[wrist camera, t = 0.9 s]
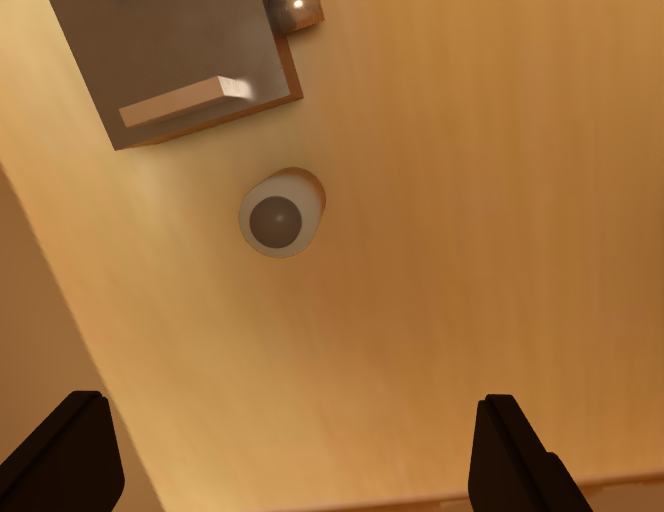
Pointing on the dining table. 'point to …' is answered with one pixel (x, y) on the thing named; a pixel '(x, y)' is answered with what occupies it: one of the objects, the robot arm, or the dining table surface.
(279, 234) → the toy camera lens
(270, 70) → the box with side knob
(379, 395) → the dining table surface
